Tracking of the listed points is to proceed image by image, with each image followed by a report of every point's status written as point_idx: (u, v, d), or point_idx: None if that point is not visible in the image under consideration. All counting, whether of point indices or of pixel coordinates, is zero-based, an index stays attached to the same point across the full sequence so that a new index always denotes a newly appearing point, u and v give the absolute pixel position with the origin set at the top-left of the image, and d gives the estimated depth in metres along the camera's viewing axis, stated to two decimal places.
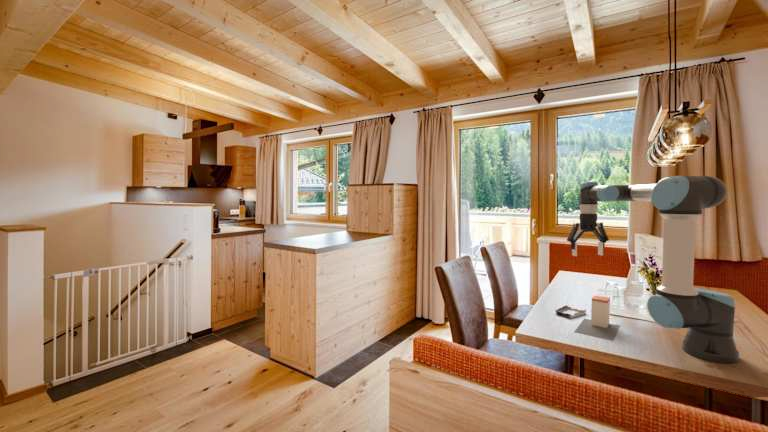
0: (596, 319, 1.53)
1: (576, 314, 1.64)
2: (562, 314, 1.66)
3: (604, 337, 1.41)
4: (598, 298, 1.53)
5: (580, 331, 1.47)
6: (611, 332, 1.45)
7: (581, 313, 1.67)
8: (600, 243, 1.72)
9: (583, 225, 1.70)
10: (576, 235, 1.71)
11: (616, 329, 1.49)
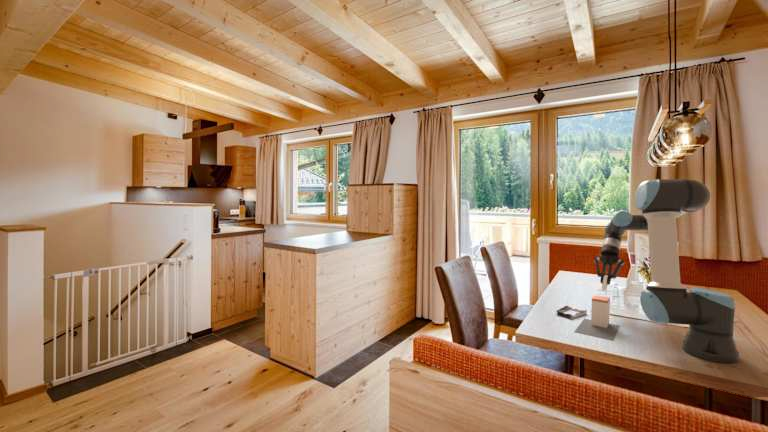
0: (596, 319, 1.53)
1: (577, 314, 1.64)
2: (563, 314, 1.65)
3: (604, 337, 1.41)
4: (598, 298, 1.53)
5: (580, 331, 1.47)
6: (611, 332, 1.45)
7: (582, 313, 1.66)
8: None
9: (601, 256, 1.71)
10: None
11: (616, 329, 1.49)
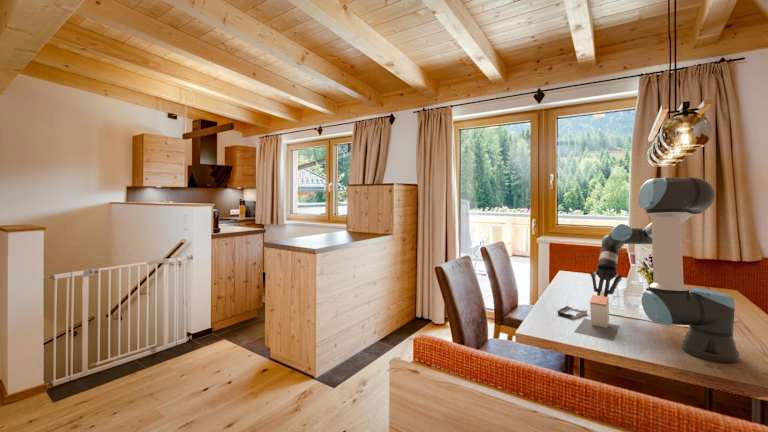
0: (596, 320, 1.52)
1: (578, 314, 1.64)
2: (564, 315, 1.65)
3: (604, 337, 1.41)
4: (596, 300, 1.50)
5: (580, 331, 1.47)
6: (611, 332, 1.45)
7: (583, 313, 1.66)
8: None
9: (598, 271, 1.65)
10: (599, 285, 1.62)
11: (616, 329, 1.49)
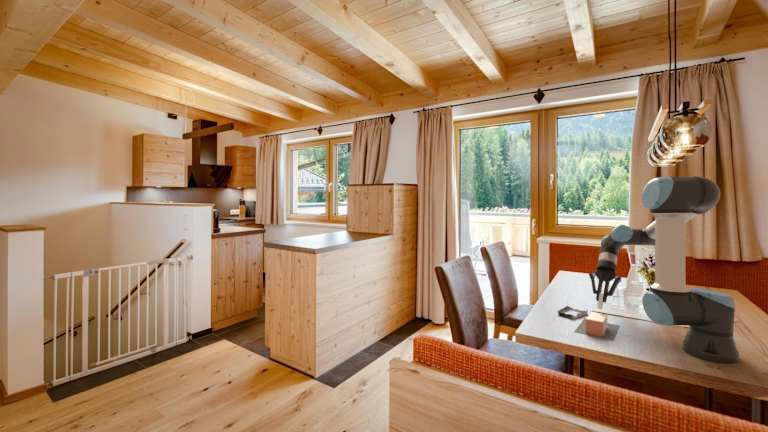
0: None
1: (578, 315, 1.64)
2: (564, 315, 1.65)
3: (604, 337, 1.41)
4: (591, 330, 1.43)
5: (580, 331, 1.47)
6: (611, 332, 1.45)
7: (583, 314, 1.66)
8: None
9: (597, 272, 1.62)
10: (598, 286, 1.59)
11: (616, 329, 1.49)
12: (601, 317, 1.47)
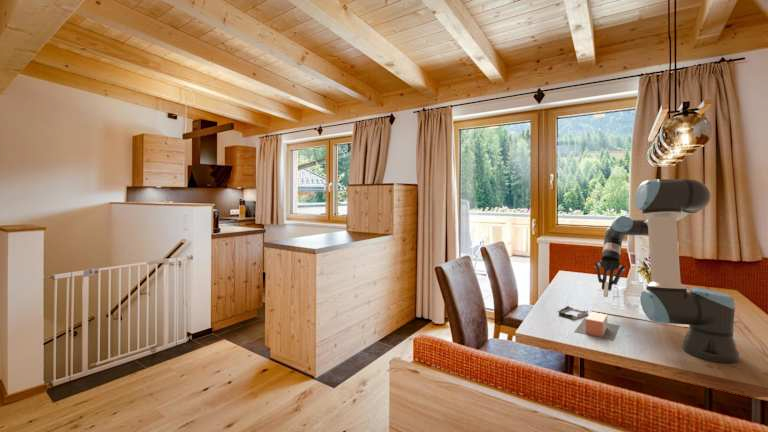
0: None
1: (579, 315, 1.63)
2: (565, 315, 1.65)
3: (604, 337, 1.41)
4: (591, 330, 1.43)
5: (580, 331, 1.47)
6: (611, 332, 1.45)
7: (584, 314, 1.66)
8: None
9: (602, 262, 1.70)
10: None
11: (616, 329, 1.49)
12: (601, 317, 1.47)
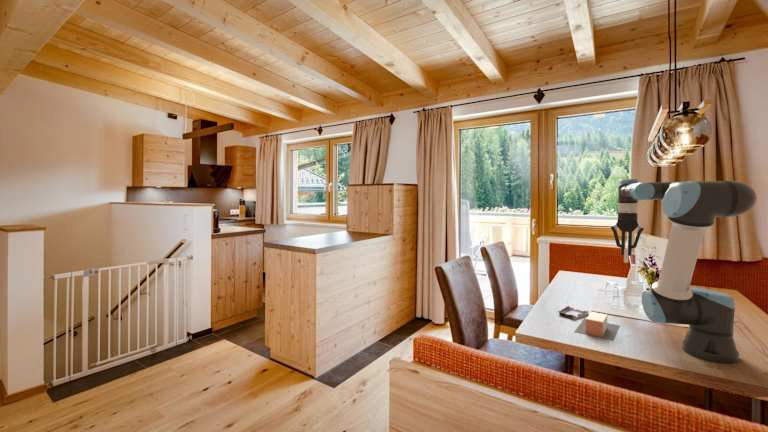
0: None
1: (579, 315, 1.63)
2: (565, 315, 1.64)
3: (604, 337, 1.41)
4: (591, 330, 1.43)
5: (580, 331, 1.47)
6: (611, 332, 1.45)
7: (584, 314, 1.65)
8: None
9: (619, 225, 1.62)
10: None
11: (616, 329, 1.49)
12: (601, 317, 1.47)
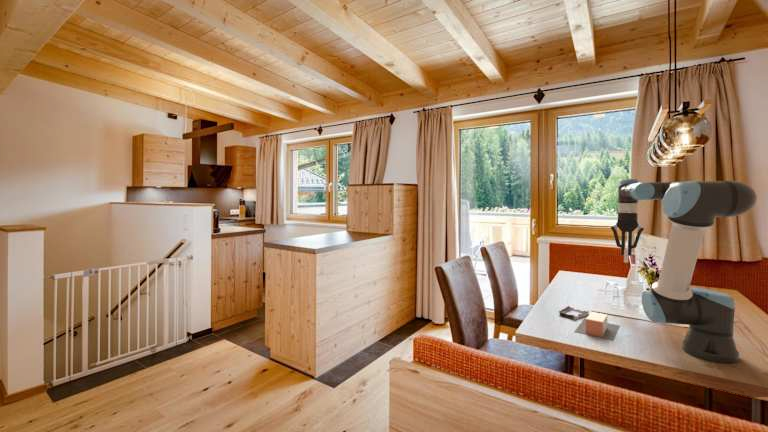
0: None
1: (580, 315, 1.63)
2: (566, 315, 1.64)
3: (604, 337, 1.41)
4: (591, 330, 1.43)
5: (580, 331, 1.47)
6: (611, 332, 1.45)
7: (584, 314, 1.65)
8: None
9: (619, 225, 1.62)
10: None
11: (616, 329, 1.49)
12: (601, 317, 1.47)
